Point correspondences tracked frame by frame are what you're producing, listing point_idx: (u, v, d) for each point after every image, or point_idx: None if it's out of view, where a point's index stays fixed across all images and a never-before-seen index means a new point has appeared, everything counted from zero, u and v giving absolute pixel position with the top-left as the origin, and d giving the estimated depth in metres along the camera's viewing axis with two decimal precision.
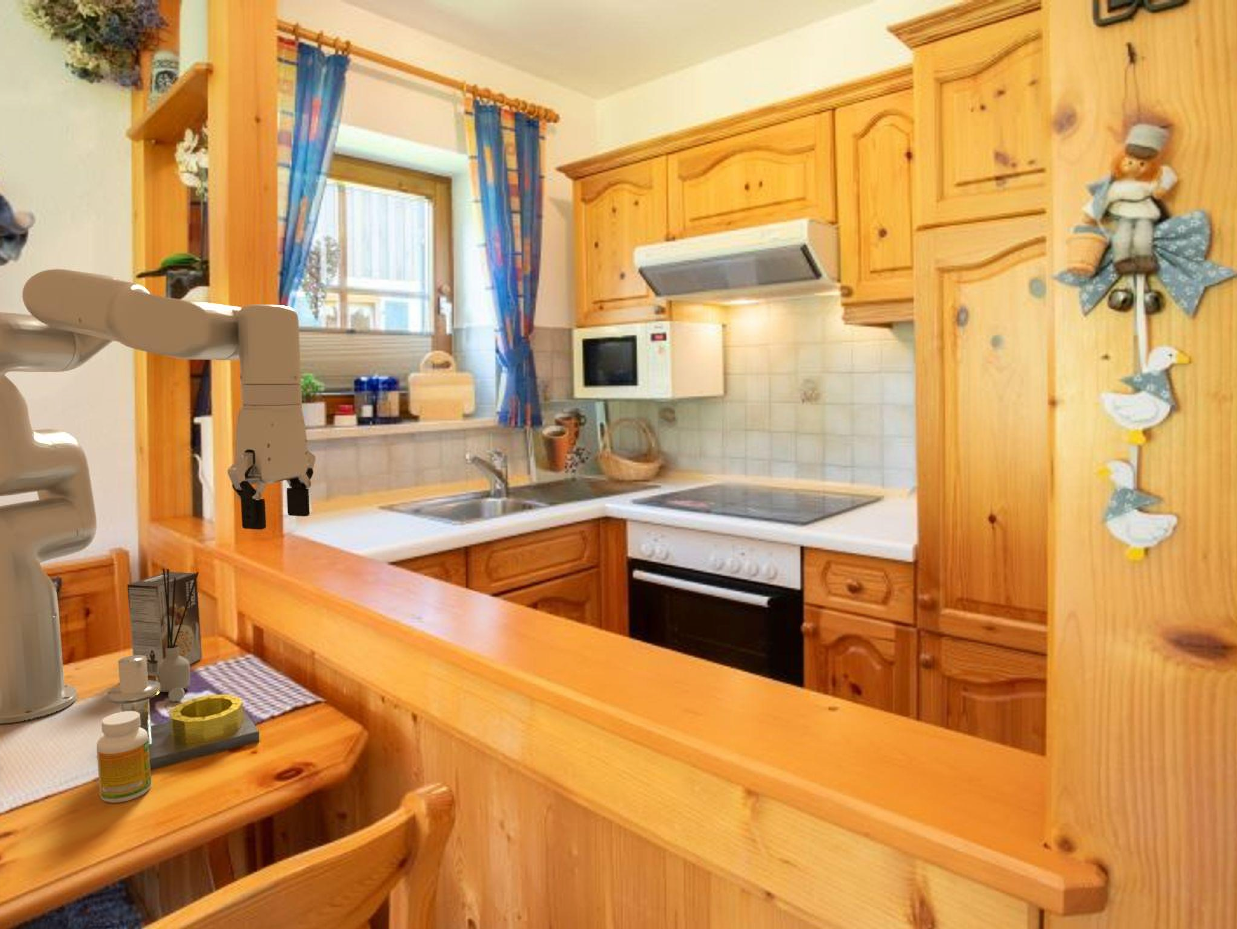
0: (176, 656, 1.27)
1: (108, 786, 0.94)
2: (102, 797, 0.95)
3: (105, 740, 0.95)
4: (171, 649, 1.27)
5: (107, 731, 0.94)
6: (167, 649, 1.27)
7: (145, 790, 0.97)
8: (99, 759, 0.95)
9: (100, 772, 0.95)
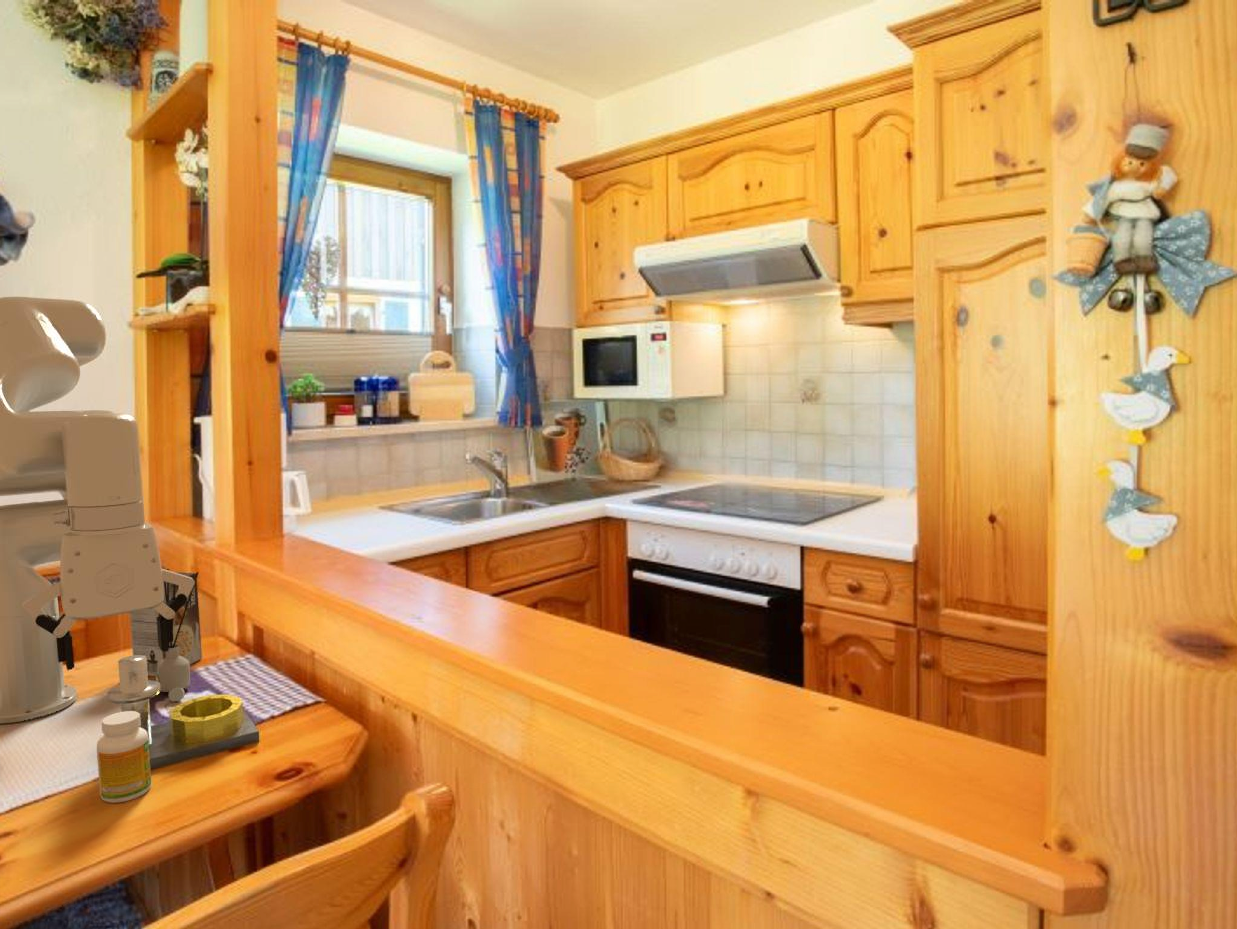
0: (176, 656, 1.27)
1: (108, 786, 0.94)
2: (102, 797, 0.95)
3: (105, 739, 0.95)
4: (171, 649, 1.27)
5: (107, 731, 0.94)
6: None
7: (145, 790, 0.97)
8: (99, 759, 0.95)
9: (100, 772, 0.95)
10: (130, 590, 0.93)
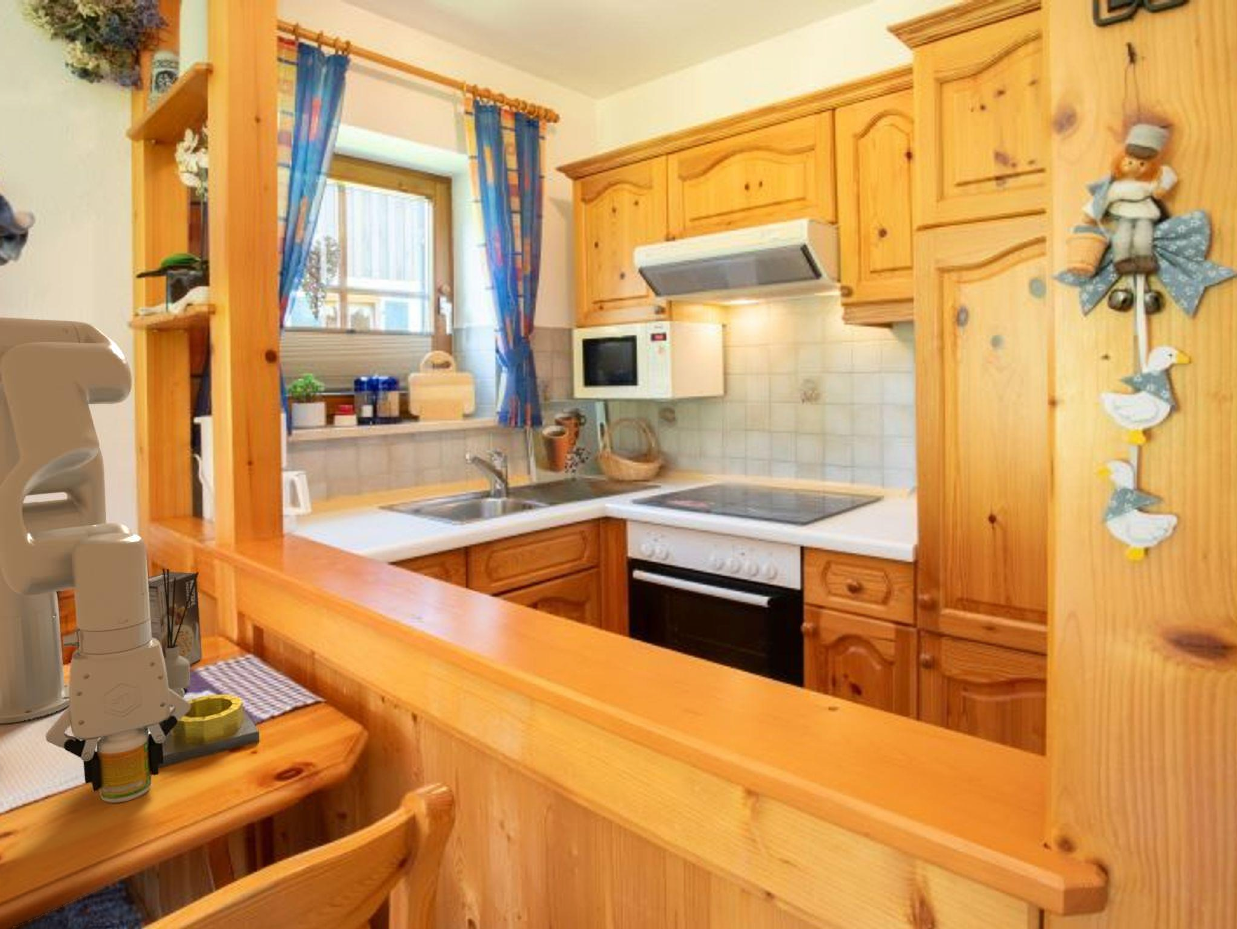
0: (176, 656, 1.27)
1: (108, 786, 0.94)
2: (102, 797, 0.95)
3: (105, 739, 0.95)
4: (171, 649, 1.27)
5: None
6: (167, 649, 1.27)
7: (145, 790, 0.97)
8: (99, 759, 0.95)
9: (100, 772, 0.95)
10: (137, 708, 0.95)
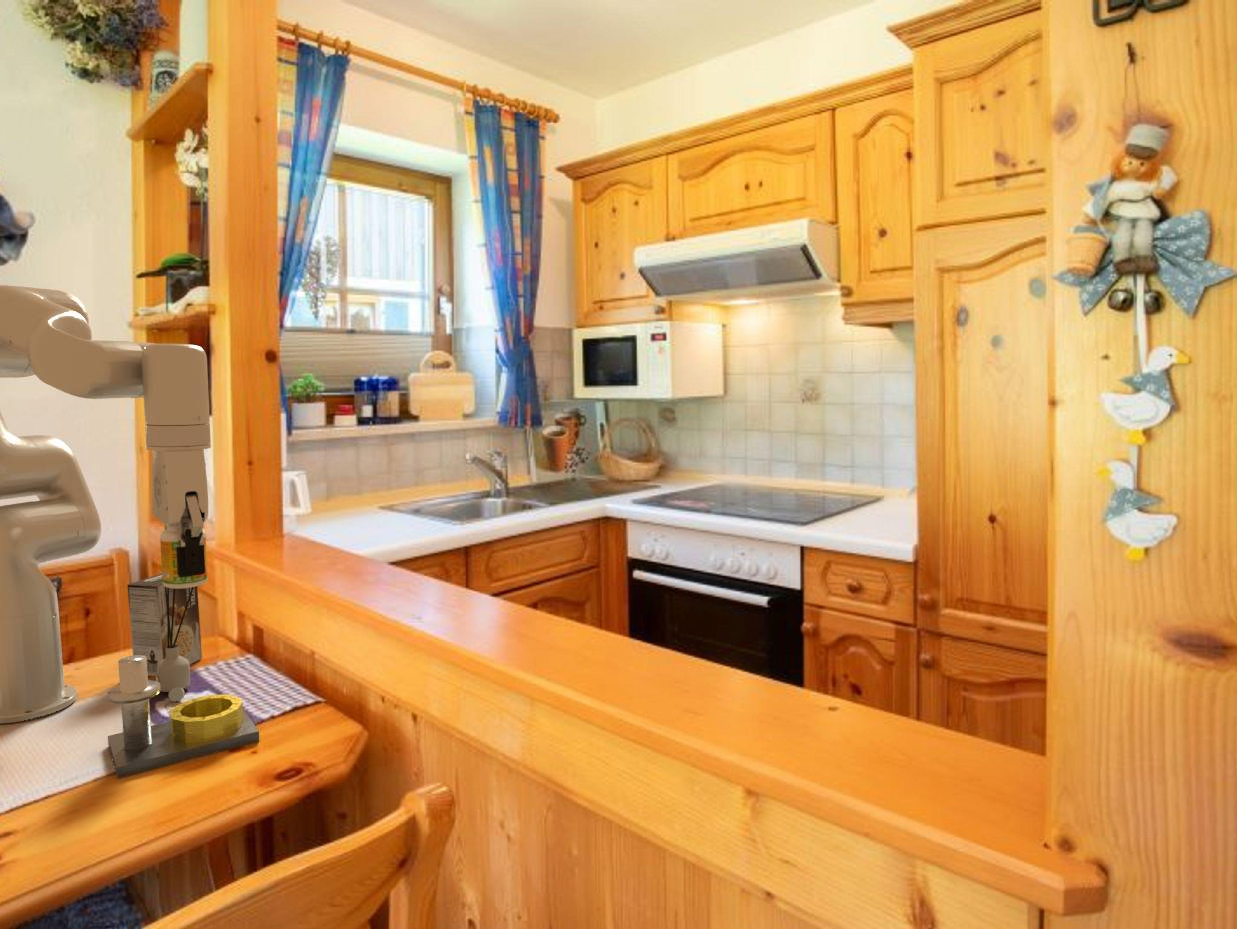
0: (176, 656, 1.27)
1: None
2: None
3: None
4: (171, 649, 1.27)
5: None
6: (167, 649, 1.27)
7: (172, 585, 1.04)
8: None
9: None
10: (161, 504, 1.03)
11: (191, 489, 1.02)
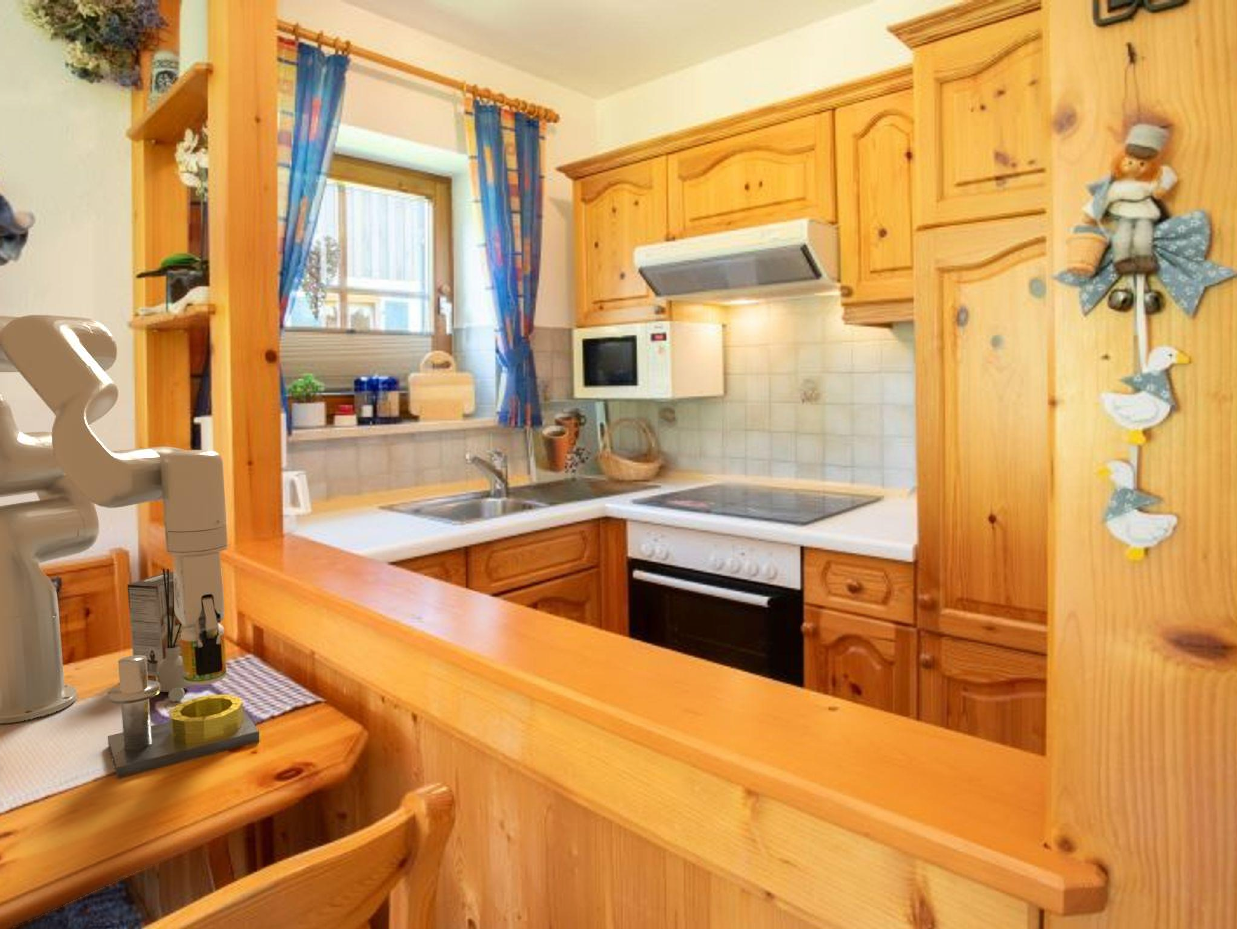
0: (176, 656, 1.27)
1: None
2: None
3: None
4: (171, 649, 1.27)
5: None
6: (167, 649, 1.27)
7: (192, 682, 1.08)
8: None
9: None
10: (179, 606, 1.07)
11: (207, 592, 1.05)
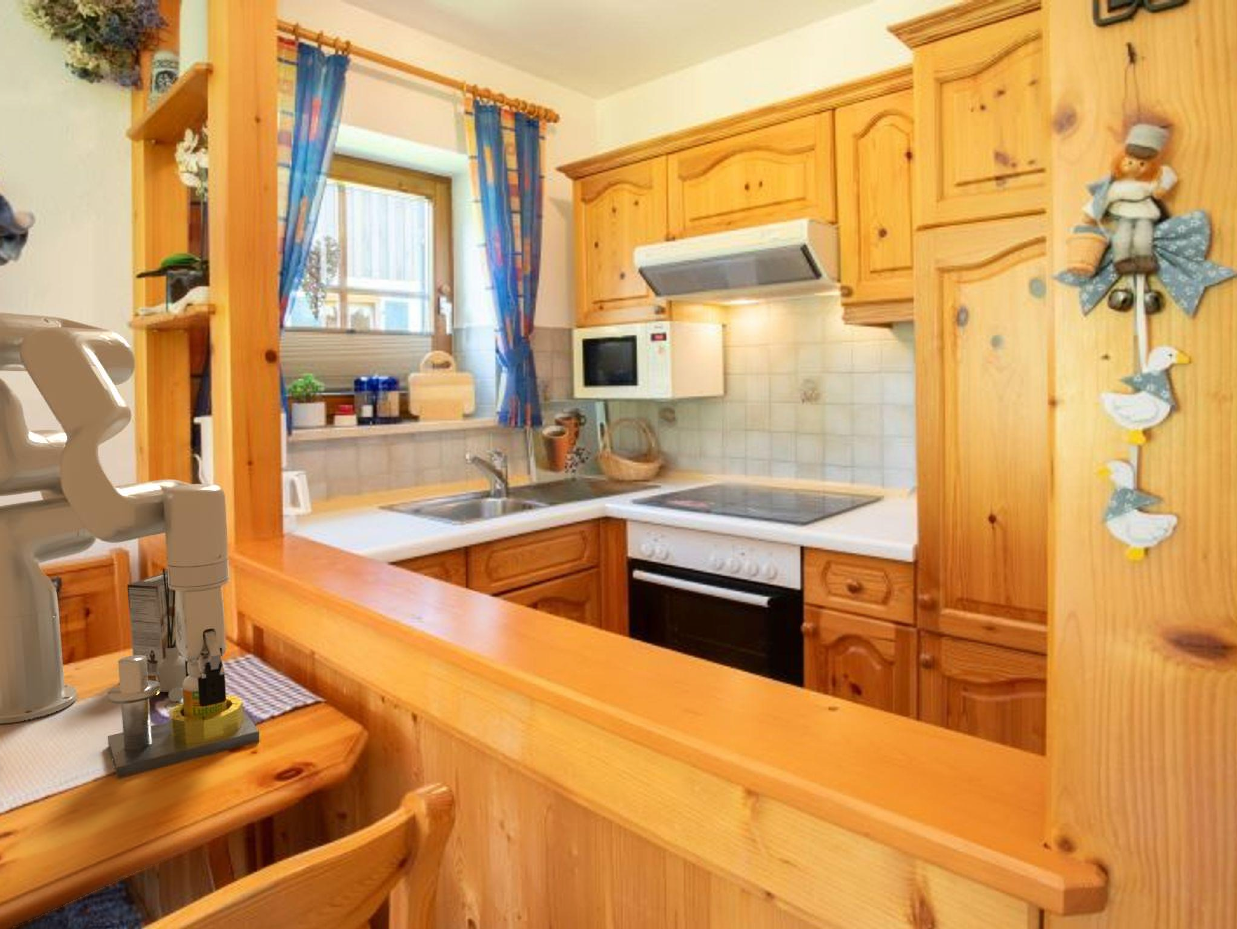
0: (176, 656, 1.27)
1: None
2: None
3: None
4: (171, 649, 1.27)
5: None
6: (167, 649, 1.27)
7: None
8: None
9: None
10: (181, 639, 1.07)
11: (209, 627, 1.06)
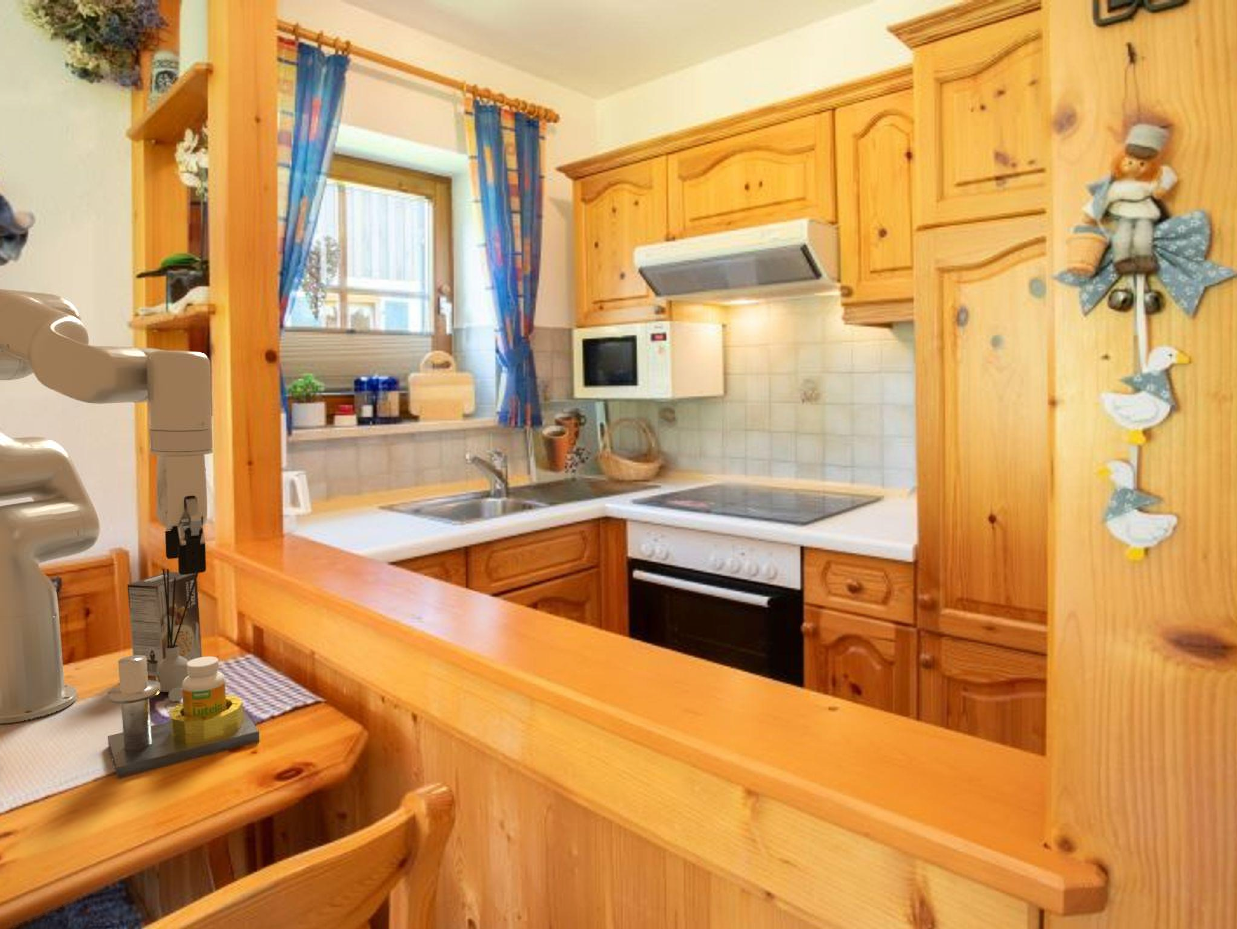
0: (176, 656, 1.27)
1: None
2: None
3: None
4: (171, 649, 1.27)
5: None
6: (167, 649, 1.27)
7: None
8: None
9: None
10: (162, 507, 1.05)
11: (190, 493, 1.04)
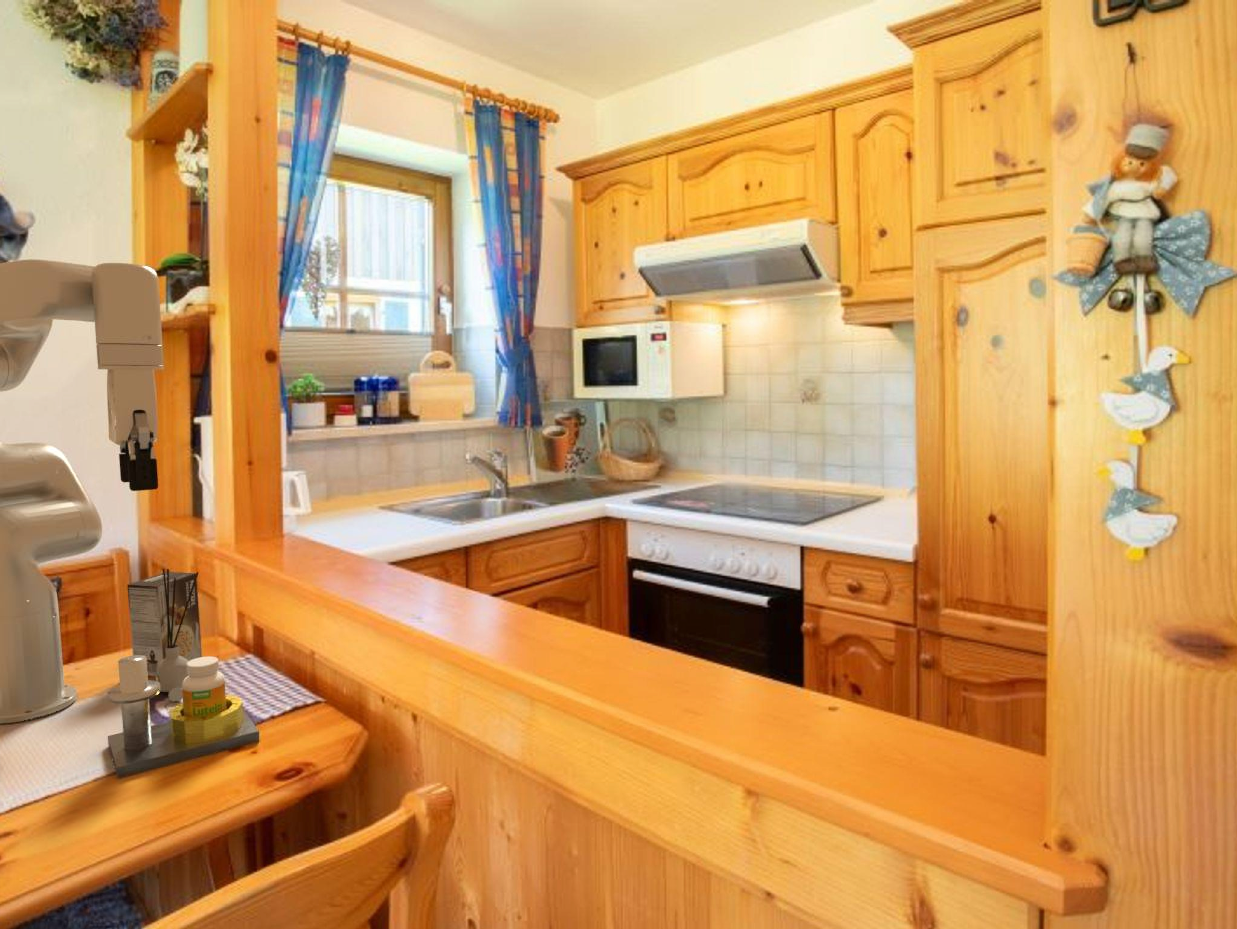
0: (176, 656, 1.27)
1: None
2: None
3: None
4: (171, 649, 1.27)
5: None
6: (167, 649, 1.27)
7: None
8: None
9: None
10: (111, 423, 1.03)
11: (139, 407, 1.02)
